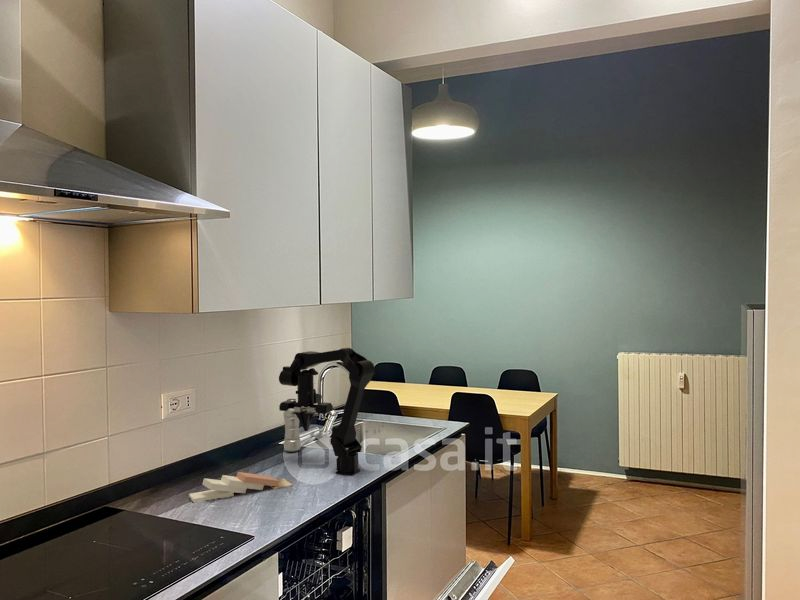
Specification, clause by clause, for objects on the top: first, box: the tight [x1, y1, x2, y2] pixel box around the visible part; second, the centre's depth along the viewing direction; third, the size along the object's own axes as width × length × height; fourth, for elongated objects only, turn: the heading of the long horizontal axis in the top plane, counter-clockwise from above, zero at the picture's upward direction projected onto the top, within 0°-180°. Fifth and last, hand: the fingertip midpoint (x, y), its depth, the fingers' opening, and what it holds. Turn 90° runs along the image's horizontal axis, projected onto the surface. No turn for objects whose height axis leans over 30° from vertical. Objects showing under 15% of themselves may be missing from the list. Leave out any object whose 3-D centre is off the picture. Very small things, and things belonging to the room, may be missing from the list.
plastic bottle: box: [283, 398, 302, 453], centre depth 244 cm, size 6×7×20 cm
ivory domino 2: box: [201, 478, 248, 494], centre depth 194 cm, size 2×6×12 cm
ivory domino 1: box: [188, 489, 235, 502], centre depth 193 cm, size 2×6×12 cm
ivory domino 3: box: [220, 474, 265, 491], centre depth 197 cm, size 2×6×12 cm
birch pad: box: [270, 478, 293, 490], centre depth 204 cm, size 6×8×1 cm
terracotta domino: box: [235, 471, 279, 487], centre depth 199 cm, size 2×6×12 cm
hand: (306, 430), depth 226 cm, fingers closed
